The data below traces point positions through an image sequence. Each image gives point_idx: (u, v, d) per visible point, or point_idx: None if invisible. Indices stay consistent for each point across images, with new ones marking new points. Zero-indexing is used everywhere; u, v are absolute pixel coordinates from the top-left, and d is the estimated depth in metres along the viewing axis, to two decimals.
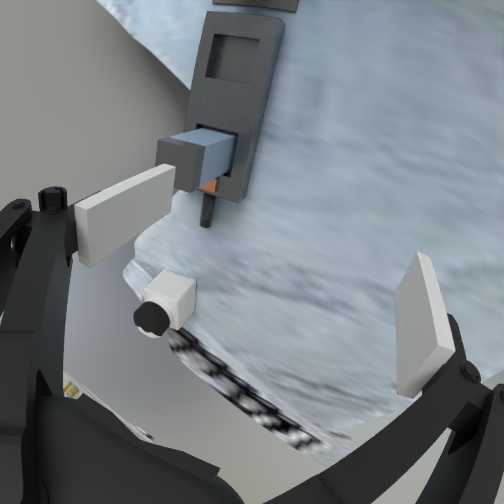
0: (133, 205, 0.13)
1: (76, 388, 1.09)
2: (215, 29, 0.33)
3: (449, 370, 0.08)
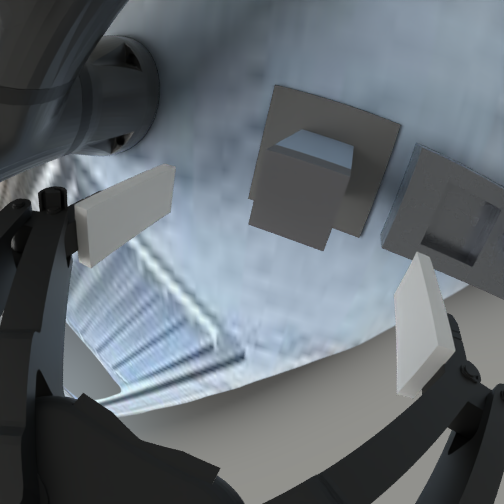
0: (133, 205, 0.13)
1: None
2: (415, 241, 0.26)
3: (449, 370, 0.08)
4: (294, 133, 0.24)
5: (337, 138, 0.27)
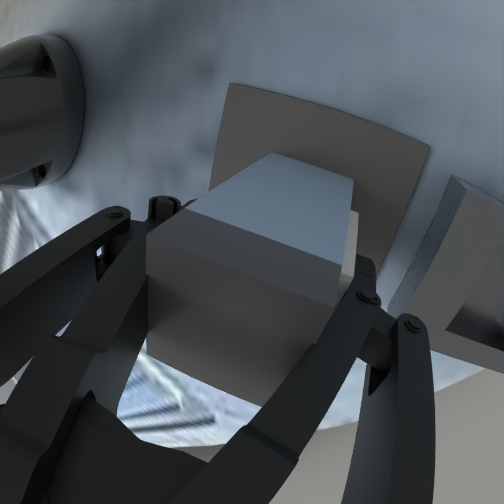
0: None
1: None
2: (438, 326, 0.16)
3: (345, 298, 0.10)
4: None
5: (328, 167, 0.17)
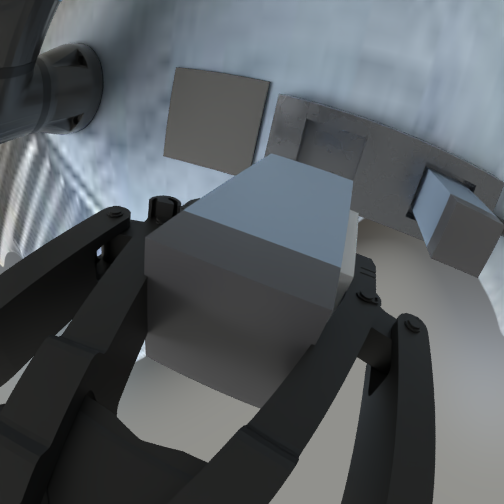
0: None
1: None
2: None
3: (345, 298, 0.10)
4: (250, 166, 0.15)
5: (221, 100, 0.34)
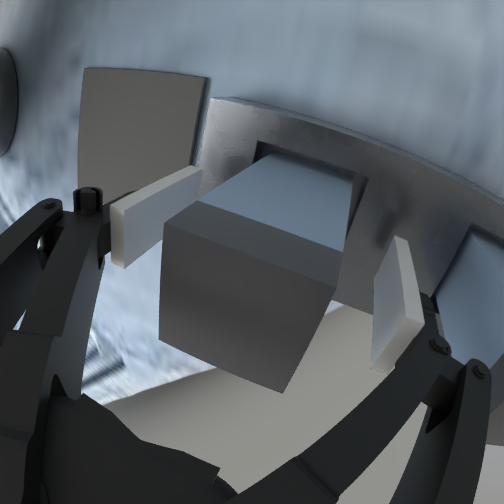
0: (165, 206, 0.14)
1: None
2: None
3: (418, 344, 0.08)
4: (256, 162, 0.16)
5: (137, 112, 0.21)
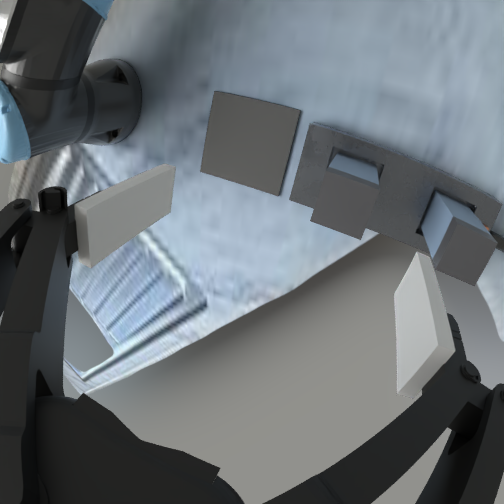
0: (133, 205, 0.13)
1: None
2: (313, 193, 0.38)
3: (449, 370, 0.08)
4: (335, 156, 0.33)
5: (256, 124, 0.39)
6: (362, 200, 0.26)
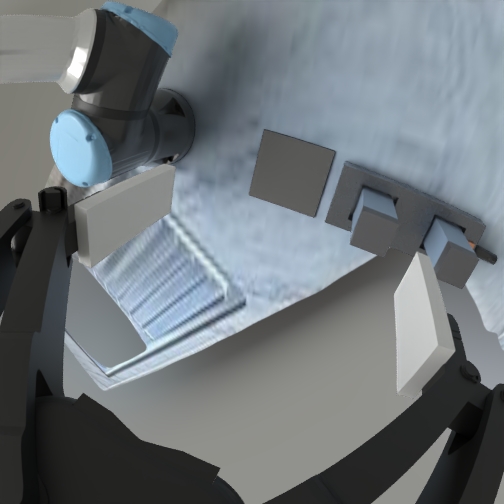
0: (133, 205, 0.13)
1: None
2: (344, 217, 0.49)
3: (449, 370, 0.08)
4: (363, 192, 0.44)
5: (298, 160, 0.49)
6: (387, 231, 0.37)
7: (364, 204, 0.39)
